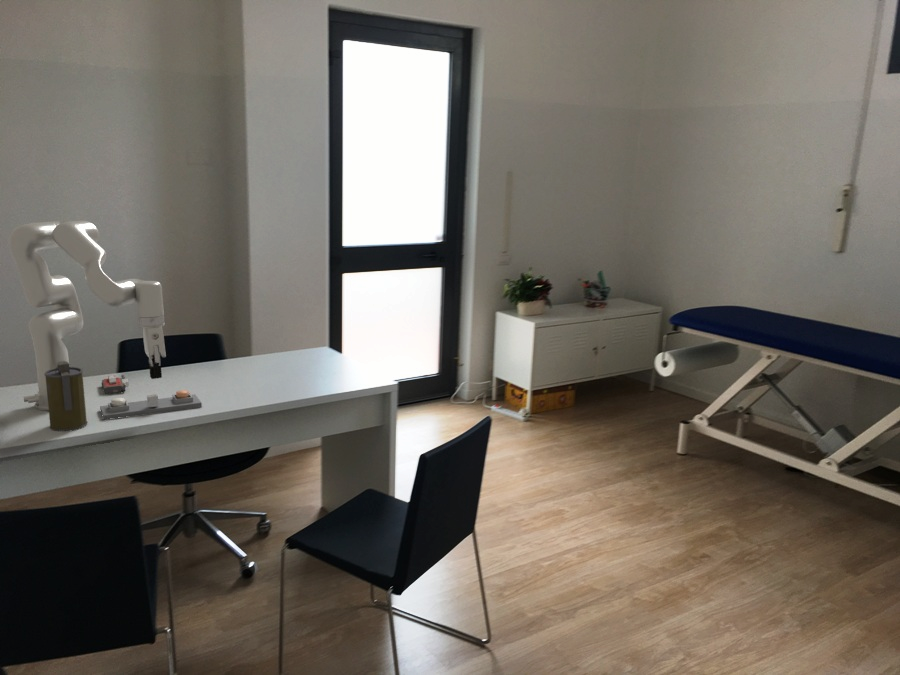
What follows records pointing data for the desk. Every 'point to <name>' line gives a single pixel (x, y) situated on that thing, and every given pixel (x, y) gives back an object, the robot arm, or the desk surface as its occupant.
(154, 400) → the lever
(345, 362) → the desk surface
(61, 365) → the canister
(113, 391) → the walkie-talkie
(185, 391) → the button right
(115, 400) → the button left
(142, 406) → the panel
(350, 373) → the desk surface
